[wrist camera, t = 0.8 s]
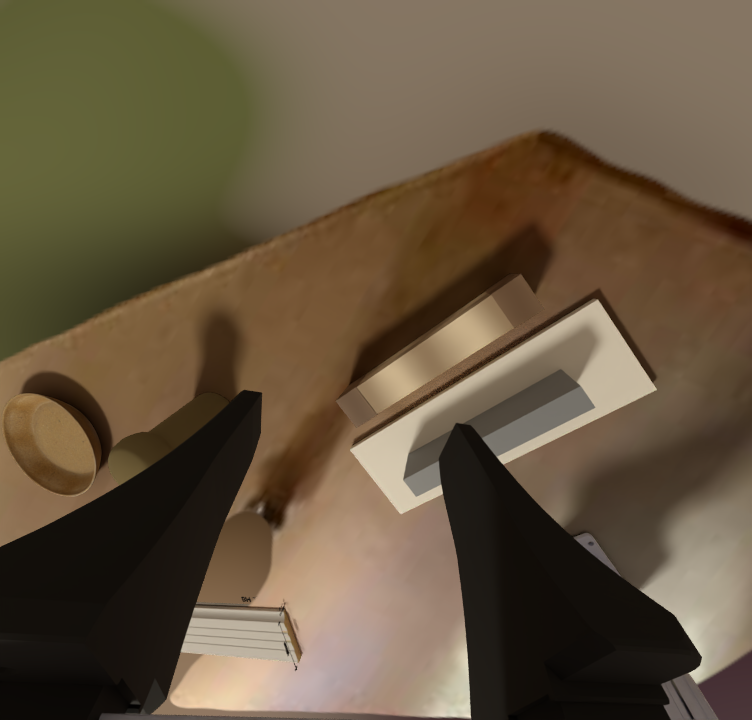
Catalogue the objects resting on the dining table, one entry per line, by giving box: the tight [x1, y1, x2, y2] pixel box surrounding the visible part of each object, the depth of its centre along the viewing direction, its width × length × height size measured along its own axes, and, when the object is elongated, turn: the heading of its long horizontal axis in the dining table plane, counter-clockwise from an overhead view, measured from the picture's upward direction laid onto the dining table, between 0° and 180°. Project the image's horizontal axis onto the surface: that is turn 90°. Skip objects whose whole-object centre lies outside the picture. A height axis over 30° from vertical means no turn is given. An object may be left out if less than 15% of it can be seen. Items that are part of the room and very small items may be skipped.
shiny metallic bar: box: [336, 274, 544, 428], centre depth 28 cm, size 18×3×4 cm, turn 128°
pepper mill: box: [108, 393, 230, 485], centre depth 32 cm, size 6×6×11 cm
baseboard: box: [181, 596, 301, 670], centre depth 47 cm, size 30×3×10 cm
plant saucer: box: [2, 393, 102, 497], centre depth 42 cm, size 15×15×3 cm
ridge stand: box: [350, 299, 657, 514], centre depth 28 cm, size 9×26×5 cm, turn 128°
